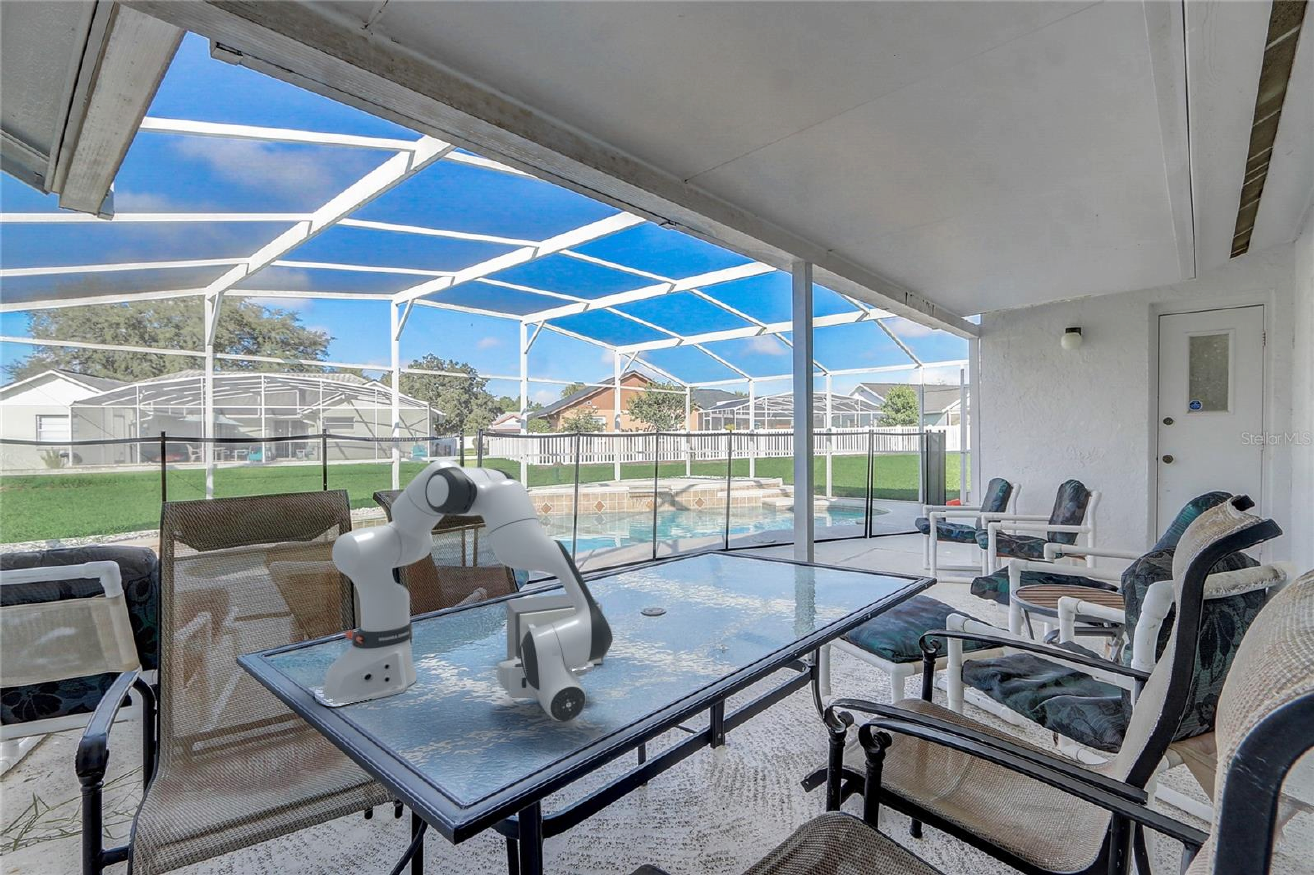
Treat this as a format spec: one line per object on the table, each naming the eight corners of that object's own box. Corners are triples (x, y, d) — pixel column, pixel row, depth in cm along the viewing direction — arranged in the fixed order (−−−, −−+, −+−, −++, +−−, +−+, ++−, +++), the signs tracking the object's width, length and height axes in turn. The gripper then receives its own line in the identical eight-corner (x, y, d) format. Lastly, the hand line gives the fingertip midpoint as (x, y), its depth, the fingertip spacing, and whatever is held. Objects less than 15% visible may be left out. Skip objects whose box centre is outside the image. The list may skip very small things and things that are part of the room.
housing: (516, 676, 148) (515, 612, 149) (507, 659, 161) (506, 600, 162) (599, 663, 157) (598, 602, 157) (585, 647, 170) (584, 591, 170)
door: (525, 684, 142) (524, 621, 142) (520, 674, 148) (519, 614, 149) (610, 669, 150) (609, 610, 151) (602, 661, 157) (601, 604, 157)
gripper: (596, 654, 131) (579, 637, 144) (502, 669, 123) (493, 649, 136) (596, 683, 131) (580, 663, 144) (502, 699, 123) (493, 676, 136)
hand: (537, 656), depth 140 cm, fingers open, 8 cm apart
